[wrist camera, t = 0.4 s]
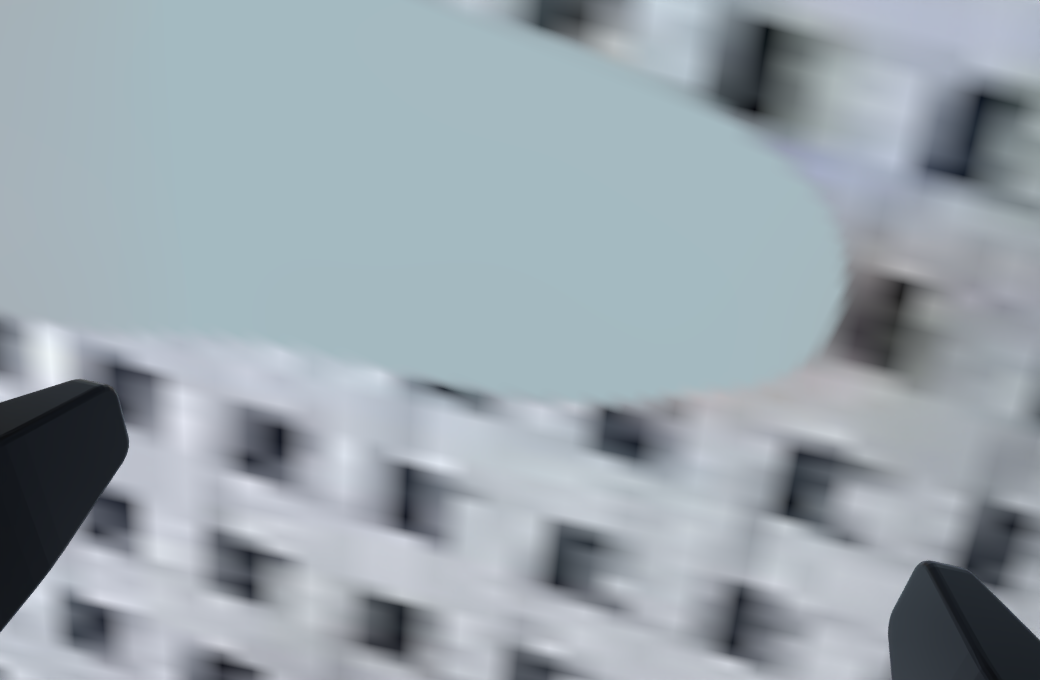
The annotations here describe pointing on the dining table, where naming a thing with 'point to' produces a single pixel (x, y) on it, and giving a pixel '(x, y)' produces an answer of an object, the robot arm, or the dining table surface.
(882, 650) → the dining table surface
